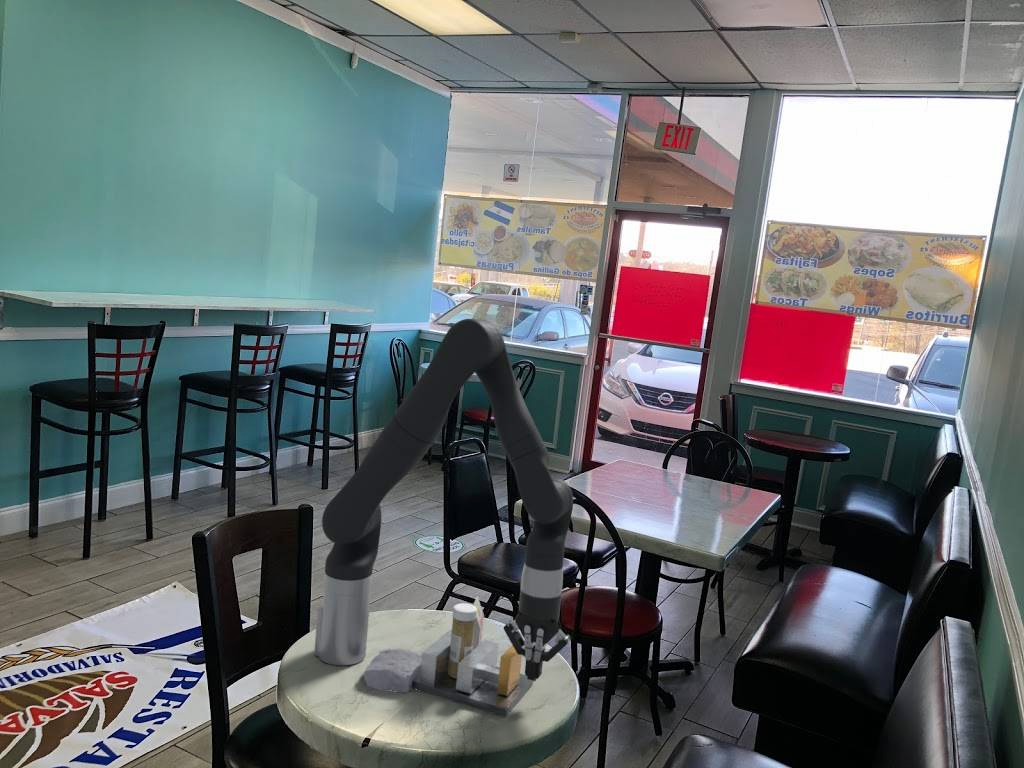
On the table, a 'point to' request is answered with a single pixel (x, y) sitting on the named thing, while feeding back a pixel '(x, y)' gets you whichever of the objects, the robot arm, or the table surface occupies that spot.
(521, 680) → the vise
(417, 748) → the table surface
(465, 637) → the sprinkles bottle
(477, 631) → the tea box
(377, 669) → the stone block
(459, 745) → the table surface
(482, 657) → the sliding jaw
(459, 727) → the table surface
